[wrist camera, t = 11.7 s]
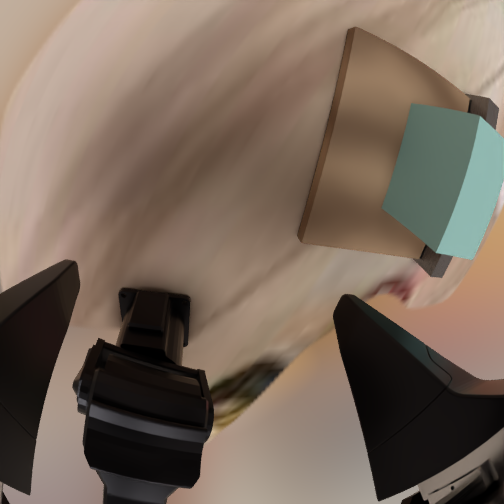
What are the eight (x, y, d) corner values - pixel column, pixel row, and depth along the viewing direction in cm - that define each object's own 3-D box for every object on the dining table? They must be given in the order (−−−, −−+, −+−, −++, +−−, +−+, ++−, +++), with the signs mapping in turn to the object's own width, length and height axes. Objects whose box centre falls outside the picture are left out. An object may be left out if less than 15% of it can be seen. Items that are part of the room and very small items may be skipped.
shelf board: (412, 253, 24) (418, 259, 23) (297, 235, 21) (301, 243, 20) (461, 97, 16) (469, 98, 15) (348, 29, 13) (355, 26, 12)
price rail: (425, 259, 25) (443, 277, 22) (411, 257, 24) (430, 276, 21) (475, 103, 16) (500, 109, 13) (462, 93, 16) (489, 98, 13)
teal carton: (451, 127, 16) (512, 148, 10) (422, 219, 21) (473, 260, 15) (411, 103, 15) (480, 115, 9) (381, 208, 20) (435, 252, 14)
